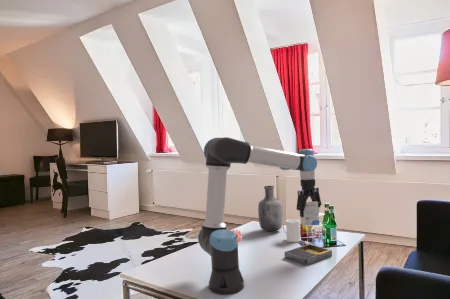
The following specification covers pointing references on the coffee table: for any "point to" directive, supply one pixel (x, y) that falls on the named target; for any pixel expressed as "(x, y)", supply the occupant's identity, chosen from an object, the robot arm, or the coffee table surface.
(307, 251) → the tray
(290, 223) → the mug
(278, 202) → the vase
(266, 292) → the coffee table surface
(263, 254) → the coffee table surface
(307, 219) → the ink box
